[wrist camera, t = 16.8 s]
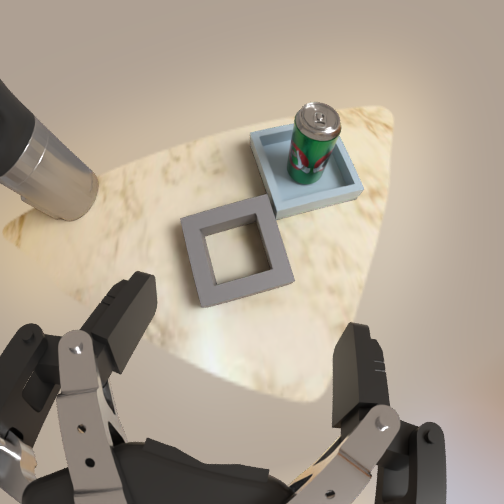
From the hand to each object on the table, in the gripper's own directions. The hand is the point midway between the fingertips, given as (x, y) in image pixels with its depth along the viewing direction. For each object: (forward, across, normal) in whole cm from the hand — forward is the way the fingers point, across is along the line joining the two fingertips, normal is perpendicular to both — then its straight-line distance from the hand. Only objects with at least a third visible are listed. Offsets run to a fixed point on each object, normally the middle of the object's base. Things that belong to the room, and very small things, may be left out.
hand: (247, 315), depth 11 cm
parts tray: (+31, -2, +3) cm, 32 cm away
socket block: (+22, +4, +12) cm, 25 cm away
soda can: (+31, -3, +2) cm, 31 cm away
